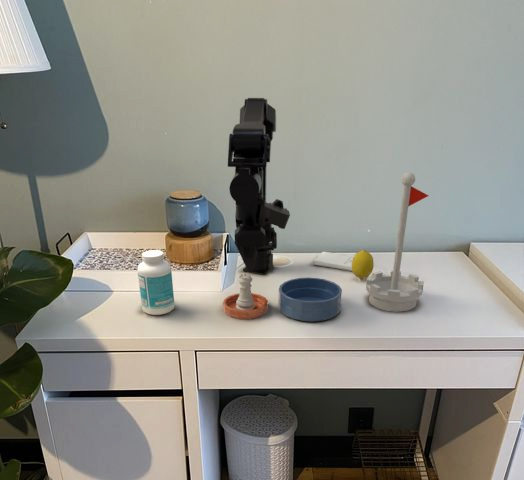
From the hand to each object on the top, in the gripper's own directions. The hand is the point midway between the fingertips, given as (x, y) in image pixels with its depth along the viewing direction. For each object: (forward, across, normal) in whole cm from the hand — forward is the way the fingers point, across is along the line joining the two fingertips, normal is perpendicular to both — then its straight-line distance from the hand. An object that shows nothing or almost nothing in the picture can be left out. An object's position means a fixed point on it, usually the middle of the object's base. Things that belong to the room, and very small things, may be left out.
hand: (249, 263), depth 123 cm
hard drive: (+11, +29, -25) cm, 40 cm away
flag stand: (+11, +3, -34) cm, 36 cm away
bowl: (+11, 0, -14) cm, 18 cm away
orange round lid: (+11, 0, +1) cm, 11 cm away
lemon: (+11, +17, -29) cm, 36 cm away
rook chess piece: (+11, 0, +1) cm, 11 cm away
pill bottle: (+11, 0, +21) cm, 24 cm away
